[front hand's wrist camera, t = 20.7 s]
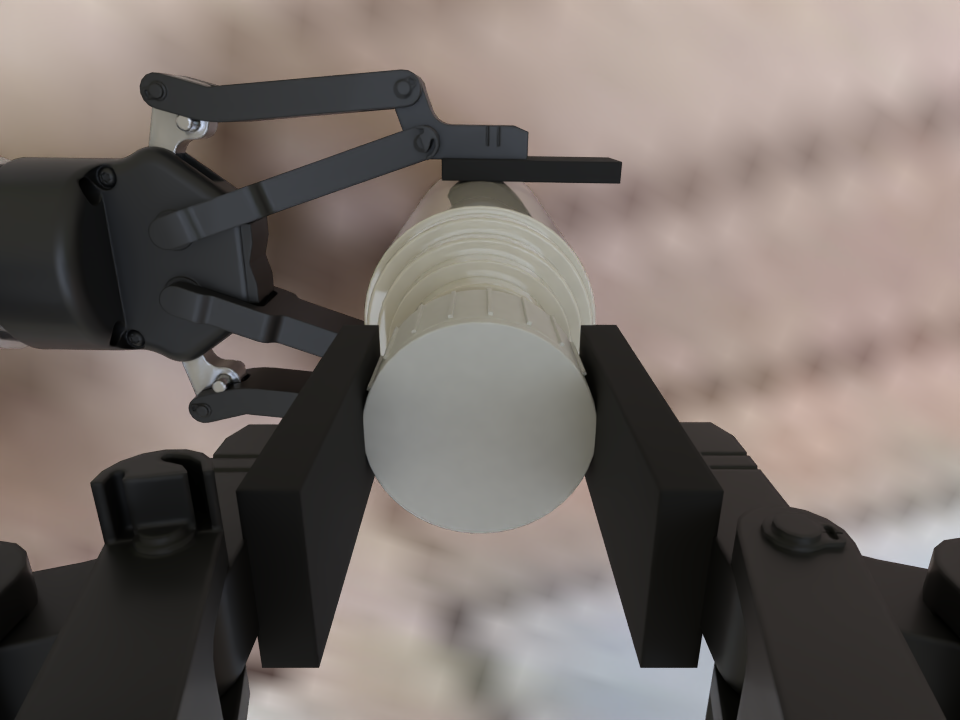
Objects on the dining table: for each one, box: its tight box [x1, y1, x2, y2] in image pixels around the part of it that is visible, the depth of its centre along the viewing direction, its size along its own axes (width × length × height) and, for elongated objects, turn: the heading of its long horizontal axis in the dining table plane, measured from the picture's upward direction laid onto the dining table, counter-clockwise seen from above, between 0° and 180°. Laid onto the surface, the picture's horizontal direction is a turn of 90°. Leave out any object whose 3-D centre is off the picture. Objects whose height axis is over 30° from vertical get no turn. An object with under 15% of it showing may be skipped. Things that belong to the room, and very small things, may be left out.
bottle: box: [364, 178, 595, 356], centre depth 22 cm, size 6×6×21 cm
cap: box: [363, 288, 596, 533], centre depth 13 cm, size 4×4×2 cm
